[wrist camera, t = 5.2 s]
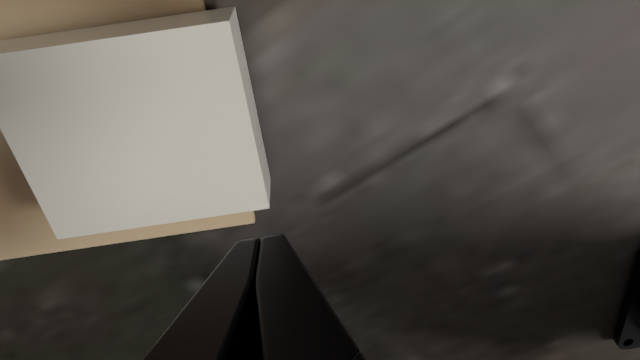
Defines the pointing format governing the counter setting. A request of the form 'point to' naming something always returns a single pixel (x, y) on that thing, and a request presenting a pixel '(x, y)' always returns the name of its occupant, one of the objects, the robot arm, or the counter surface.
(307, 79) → the counter surface
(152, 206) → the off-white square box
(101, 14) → the cork mat
